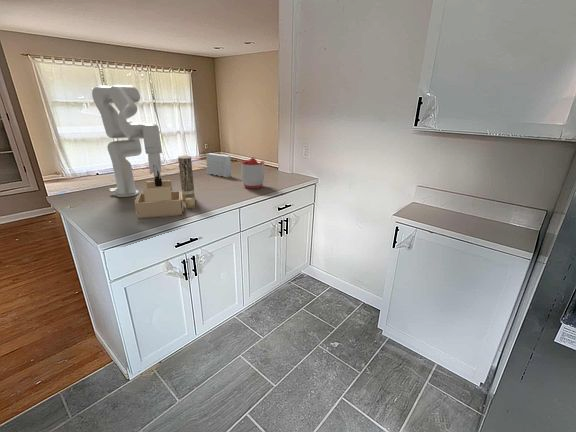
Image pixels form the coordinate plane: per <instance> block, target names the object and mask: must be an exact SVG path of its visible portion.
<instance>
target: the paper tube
mask: <svg viewBox="0 0 576 432" xmlns="http://www.w3.org/2000/svg"><path fill="white" fill-rule="evenodd" d="M177 160H178V169H179V177H180V187H181V192H182V196H183V201H185V199H186V198H190V197H192V198H194V199H195V197H196V196H195V195H196V194H195V185H194V176H193V164H192V163H193V162H192V156H191V155H179V156H178V157H177Z"/></svg>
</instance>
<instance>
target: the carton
mask: <svg viewBox="0 0 576 432" xmlns="http://www.w3.org/2000/svg"><path fill="white" fill-rule="evenodd" d="M171 198H172V200H166V201H152V202H145V198H144V192H143V193H139V194H137V196H136V198H135V200H134V207H135V213H136V216H138V217H137V218H138V220H139V219H142V220H143V219H151V218H153V219H154V218H162V217H174V216H182V215H183V212H184V200H183V196H182V191H180V190H177V191H171Z"/></svg>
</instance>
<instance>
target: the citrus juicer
mask: <svg viewBox="0 0 576 432" xmlns="http://www.w3.org/2000/svg"><path fill="white" fill-rule="evenodd" d="M240 163H241V164H240V165H241V179H242V183H243V186H244V188H246V189H253V190H257V189H260V188H262V186H263V185H264V180H265V161H264V160H262V161H260V163H259V162H258V161H257V160H256V158H255V157H251V158H250V159H246V160H242V161H241V162H240Z"/></svg>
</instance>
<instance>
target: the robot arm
mask: <svg viewBox="0 0 576 432" xmlns="http://www.w3.org/2000/svg"><path fill="white" fill-rule="evenodd" d="M91 92H92V93H91V95H92V101H93V103H94V105H95V106H96V108H97V110H98V112H99V114H100V117H101V120H102V124H103V127H104V130H105V133H106V136H107V137H108V138H110V139H119V140H114V141H110V142H109V143H108V144H107V147H106V148H107V152H108V154H109V157H110V159H111V164H112V169H113V173H114V178H115V184H116V185H115V186H116V187H115V188H111V187H110V188H109V192H110V193H114V194H115V195H114V196H115V197H118V198H128V197H129V198H130V197H134V196H136V195H137V196H138V195H140V192H139V190H137V189H136V185H135V179H134V173H133V166H132V164H131V162H130V161H129V160H128V159H127V158H130V157H137V156H140V155H141V154H142V146H141V144H142V143H141V139H143V144H144V152H145V155H147V160H148V167H149V174H150V175H152V174H153V176H154V177H153V178H154V180H153V181H155V186H156V187H157V186H162V181H163V180H162V175H161V172H162V161H161V160H162V159H161V154H162V153H163V150H162V149H163V147H162V143H161V135H160V128H159V126H158V124H155V123H150V122H133V121H131V120H128V119H130V118H132V117H133V116H135V115H136V114H137V112H138V106H137V105H136V104H137V103H139V101H140V99H141V94H140V91H139V90H138V88H136V87H135V86H134V85H122V84H115V85H114V84H113V85H111V86H110V85H98V86H97V85H96V86H94V87H93V88H92V91H91ZM111 104H114V105H115V107H116V108H117V109H116V108H115V107H114V106H113V105H111ZM117 110H118V111H119V112H118V111H117ZM120 139H123V140H120ZM124 139H125V140H124Z"/></svg>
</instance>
